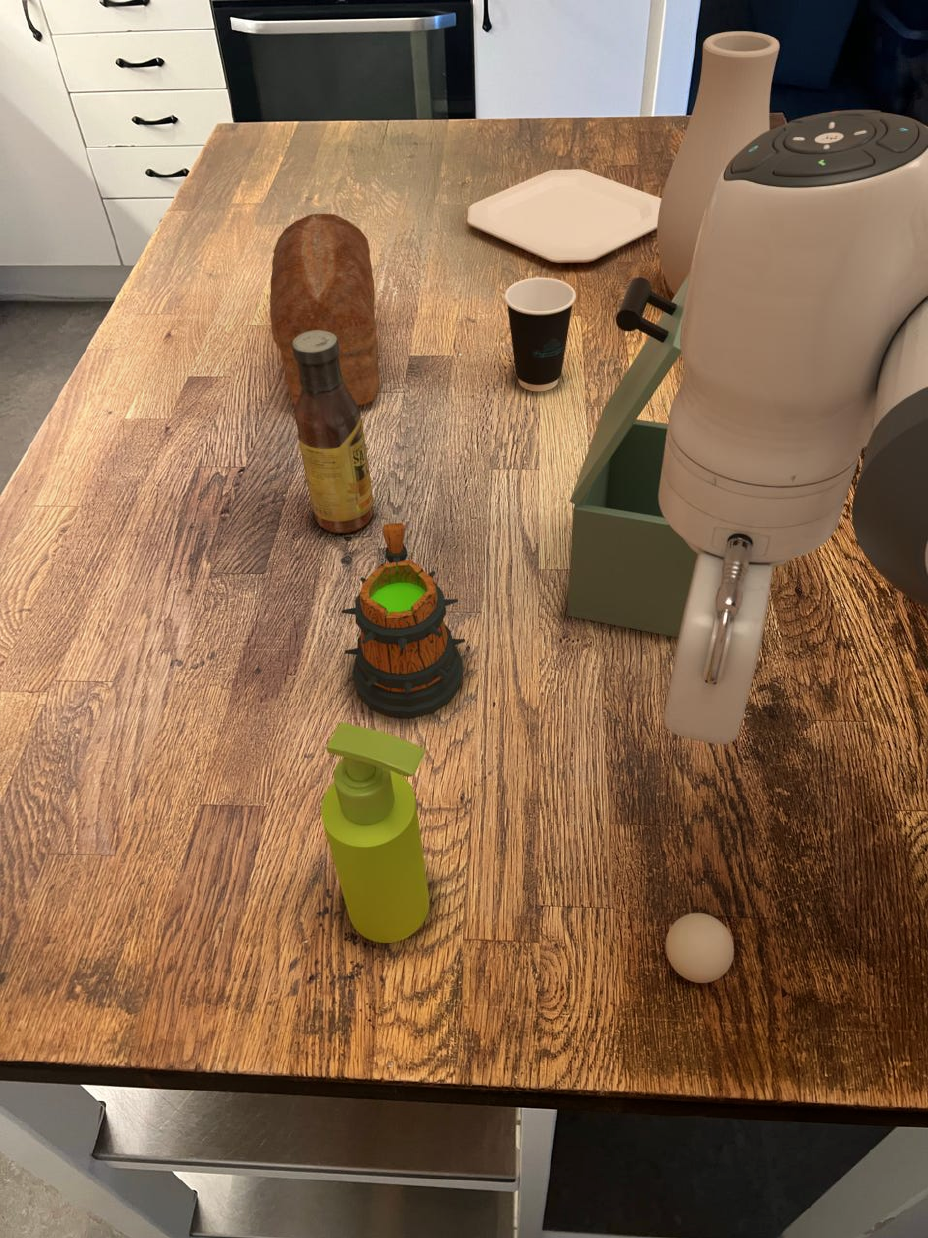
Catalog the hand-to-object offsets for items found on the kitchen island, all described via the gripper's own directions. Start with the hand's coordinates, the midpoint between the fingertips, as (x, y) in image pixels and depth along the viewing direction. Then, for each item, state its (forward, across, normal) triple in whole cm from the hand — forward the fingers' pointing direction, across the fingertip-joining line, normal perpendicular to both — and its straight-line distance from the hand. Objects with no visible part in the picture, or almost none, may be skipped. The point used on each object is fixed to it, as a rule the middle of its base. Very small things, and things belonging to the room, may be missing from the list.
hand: (711, 662), depth 57 cm
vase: (+20, +81, +10) cm, 84 cm away
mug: (+20, +11, +25) cm, 34 cm away
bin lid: (0, +27, +9) cm, 29 cm away
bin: (+20, +27, +5) cm, 34 cm away
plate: (+20, +98, +32) cm, 105 cm away
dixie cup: (+20, +57, +26) cm, 66 cm away
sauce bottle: (+20, +28, +38) cm, 51 cm away
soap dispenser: (+20, -11, +18) cm, 29 cm away
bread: (+20, +56, +52) cm, 78 cm away
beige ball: (+18, -9, -3) cm, 20 cm away
